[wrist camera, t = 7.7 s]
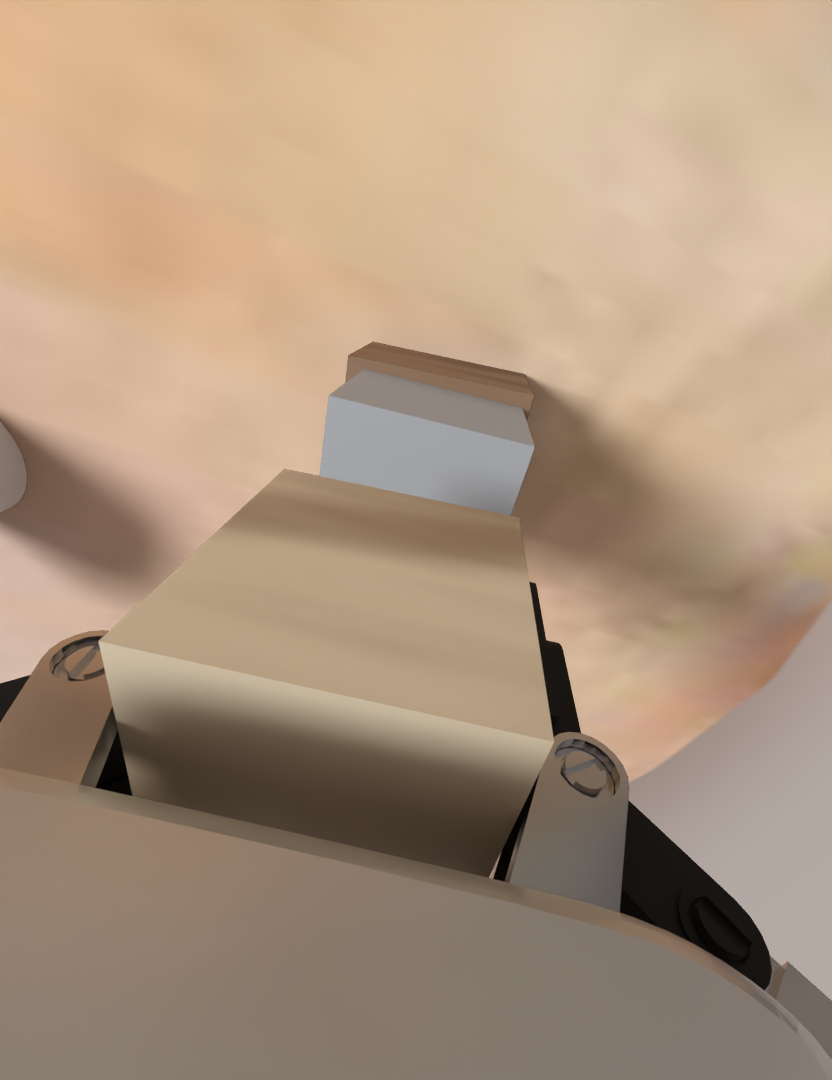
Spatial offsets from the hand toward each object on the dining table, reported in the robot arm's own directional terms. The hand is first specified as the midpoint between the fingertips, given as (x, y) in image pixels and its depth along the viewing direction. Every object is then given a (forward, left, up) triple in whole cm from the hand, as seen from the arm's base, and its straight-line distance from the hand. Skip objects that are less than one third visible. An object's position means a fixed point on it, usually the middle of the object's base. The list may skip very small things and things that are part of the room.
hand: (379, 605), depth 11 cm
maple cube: (0, 0, -1) cm, 1 cm away
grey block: (0, 0, -10) cm, 10 cm away
